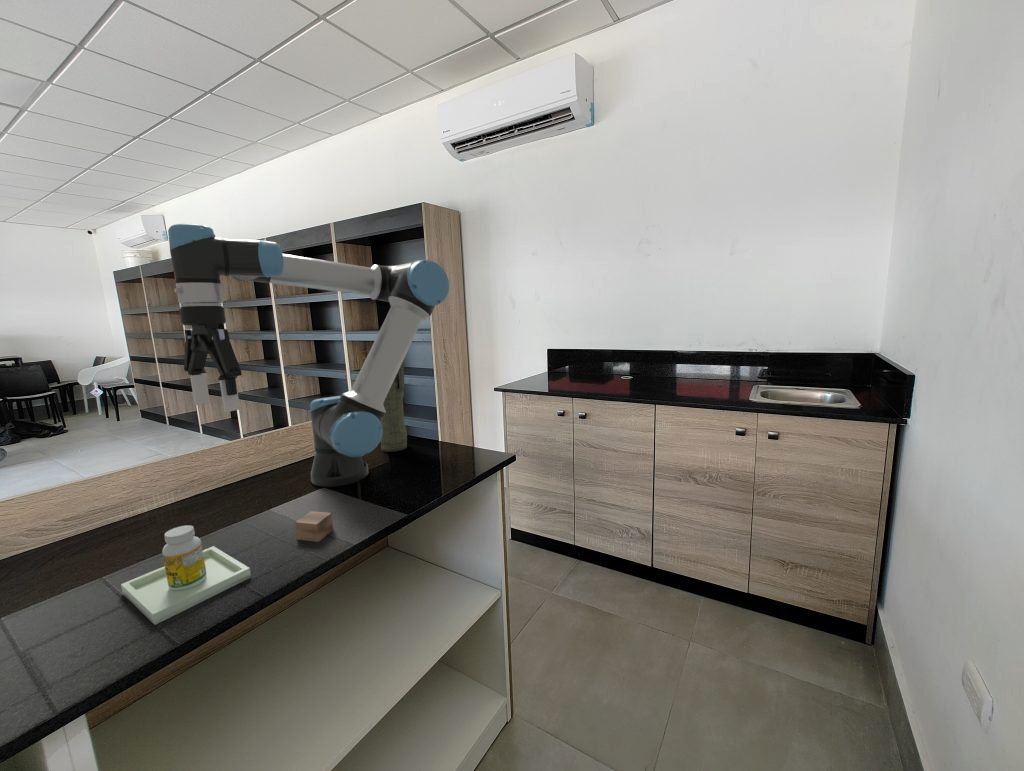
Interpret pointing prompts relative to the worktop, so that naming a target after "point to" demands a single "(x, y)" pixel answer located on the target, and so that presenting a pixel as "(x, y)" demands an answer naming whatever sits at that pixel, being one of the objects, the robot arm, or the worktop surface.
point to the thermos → (394, 416)
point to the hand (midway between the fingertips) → (216, 407)
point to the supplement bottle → (183, 558)
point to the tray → (165, 603)
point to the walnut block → (314, 526)
